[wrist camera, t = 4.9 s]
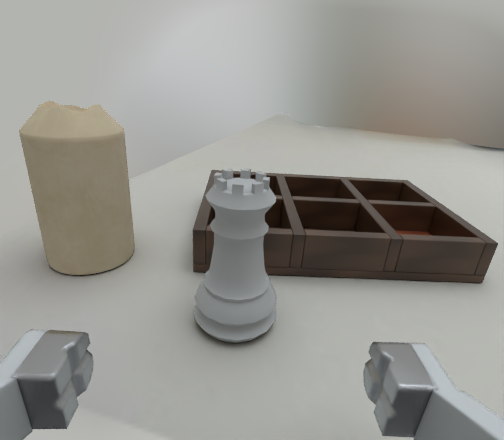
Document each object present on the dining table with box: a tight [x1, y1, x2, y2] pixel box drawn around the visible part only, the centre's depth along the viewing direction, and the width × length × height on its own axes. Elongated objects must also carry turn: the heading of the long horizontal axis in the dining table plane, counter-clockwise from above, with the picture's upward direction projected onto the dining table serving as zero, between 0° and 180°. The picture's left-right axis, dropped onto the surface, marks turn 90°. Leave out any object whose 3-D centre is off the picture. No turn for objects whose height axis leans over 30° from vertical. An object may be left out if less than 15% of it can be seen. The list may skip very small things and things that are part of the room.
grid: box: [193, 170, 498, 283], centre depth 28 cm, size 20×13×3 cm
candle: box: [19, 101, 134, 275], centre depth 22 cm, size 6×6×10 cm
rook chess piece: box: [194, 169, 276, 343], centre depth 17 cm, size 4×4×8 cm
